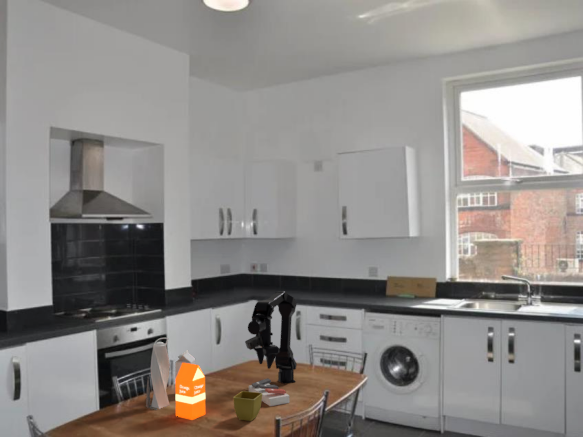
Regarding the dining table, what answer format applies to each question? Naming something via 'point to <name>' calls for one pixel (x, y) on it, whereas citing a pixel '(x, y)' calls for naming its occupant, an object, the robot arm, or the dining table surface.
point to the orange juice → (190, 392)
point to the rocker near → (261, 382)
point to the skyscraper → (159, 376)
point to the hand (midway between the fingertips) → (264, 366)
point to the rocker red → (275, 391)
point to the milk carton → (183, 359)
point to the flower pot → (247, 405)
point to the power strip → (271, 396)
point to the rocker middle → (268, 386)
